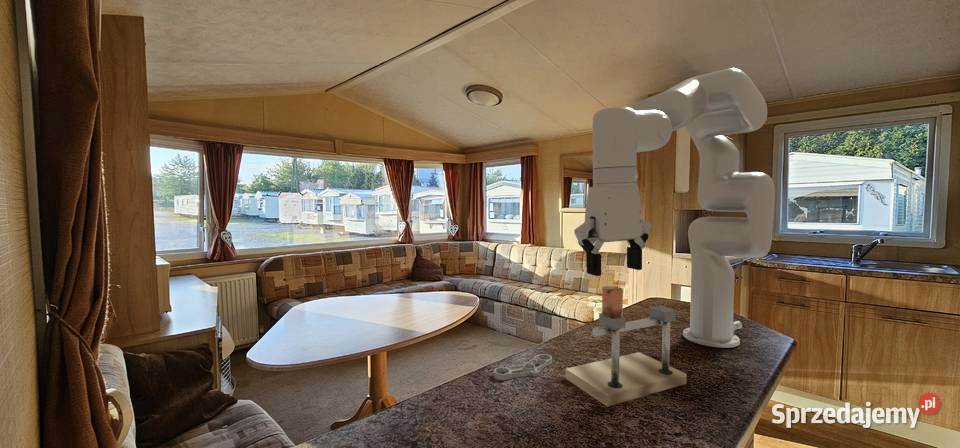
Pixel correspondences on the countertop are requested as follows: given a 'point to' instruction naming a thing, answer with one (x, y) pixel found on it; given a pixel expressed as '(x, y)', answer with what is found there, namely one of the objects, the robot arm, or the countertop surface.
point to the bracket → (524, 368)
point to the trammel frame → (657, 317)
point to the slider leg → (613, 324)
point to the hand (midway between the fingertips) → (614, 271)
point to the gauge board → (624, 378)
